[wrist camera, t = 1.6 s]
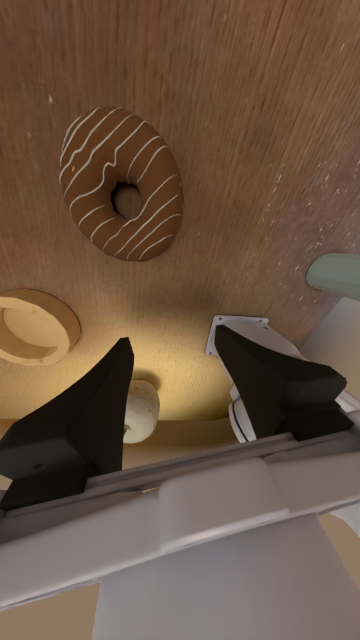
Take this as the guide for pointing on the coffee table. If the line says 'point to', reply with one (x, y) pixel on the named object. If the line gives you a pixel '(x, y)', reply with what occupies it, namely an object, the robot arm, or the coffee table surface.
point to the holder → (35, 328)
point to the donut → (121, 165)
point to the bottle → (336, 274)
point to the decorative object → (140, 411)
